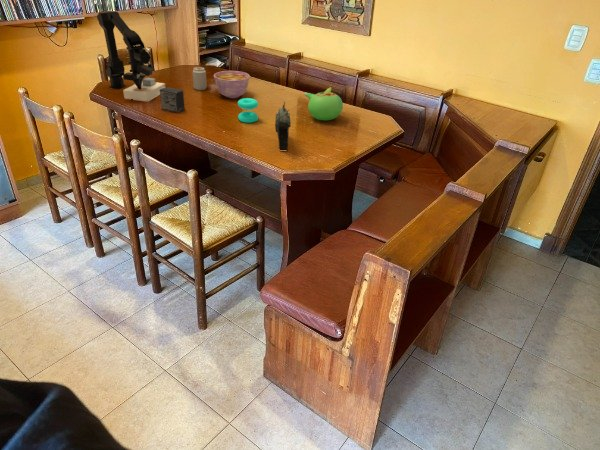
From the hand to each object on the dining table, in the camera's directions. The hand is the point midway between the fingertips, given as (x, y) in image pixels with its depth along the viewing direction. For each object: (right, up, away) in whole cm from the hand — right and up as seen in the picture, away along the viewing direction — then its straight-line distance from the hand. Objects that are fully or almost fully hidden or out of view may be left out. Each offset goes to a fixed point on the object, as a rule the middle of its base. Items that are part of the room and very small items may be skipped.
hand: (139, 89), depth 243 cm
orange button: (0, -3, +2) cm, 3 cm away
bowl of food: (+49, 0, +13) cm, 50 cm away
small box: (+22, -14, -11) cm, 28 cm away
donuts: (+61, -21, -18) cm, 67 cm away
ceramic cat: (+79, -37, -40) cm, 96 cm away
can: (+29, +6, +21) cm, 36 cm away
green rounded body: (+100, -19, -11) cm, 102 cm away
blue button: (+2, +5, +9) cm, 10 cm away
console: (+1, -1, +7) cm, 7 cm away
